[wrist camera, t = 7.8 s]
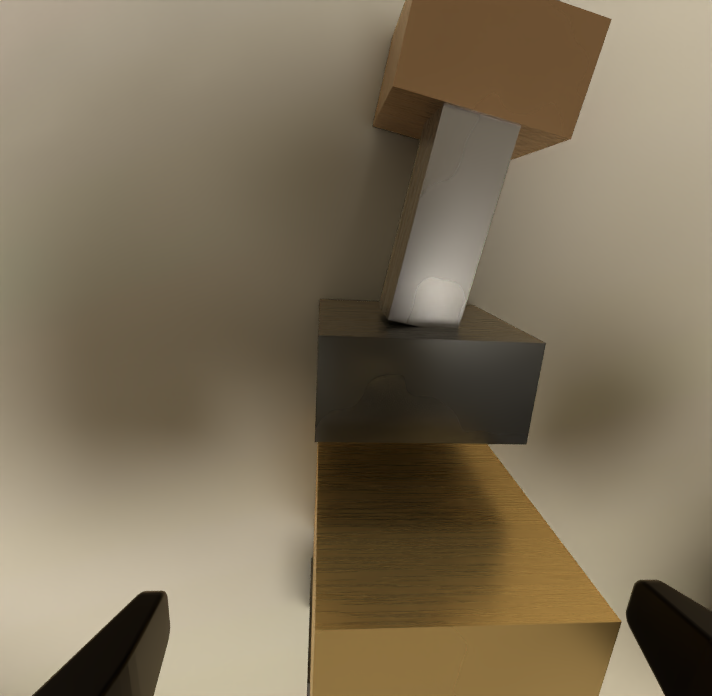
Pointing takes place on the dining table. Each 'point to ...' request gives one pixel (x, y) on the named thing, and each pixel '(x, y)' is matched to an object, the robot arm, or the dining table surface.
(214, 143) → the dining table surface
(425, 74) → the shaft rig
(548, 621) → the coupler
